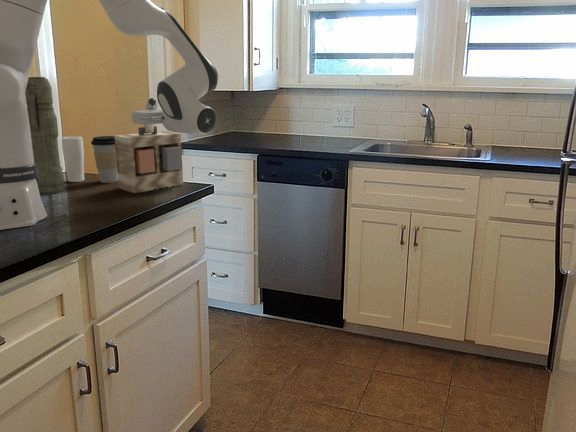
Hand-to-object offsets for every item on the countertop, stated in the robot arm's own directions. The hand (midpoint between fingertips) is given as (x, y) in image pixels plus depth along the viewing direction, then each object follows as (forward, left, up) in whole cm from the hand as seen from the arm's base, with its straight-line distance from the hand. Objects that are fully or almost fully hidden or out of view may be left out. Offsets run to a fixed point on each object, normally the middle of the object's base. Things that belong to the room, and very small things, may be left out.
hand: (153, 114), depth 177 cm
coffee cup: (-6, +22, -24) cm, 33 cm away
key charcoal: (+4, -1, -18) cm, 18 cm away
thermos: (-27, +20, -24) cm, 41 cm away
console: (0, +4, -24) cm, 24 cm away
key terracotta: (-5, +1, -18) cm, 18 cm away
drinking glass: (-14, +30, -24) cm, 40 cm away
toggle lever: (0, +4, -6) cm, 7 cm away
